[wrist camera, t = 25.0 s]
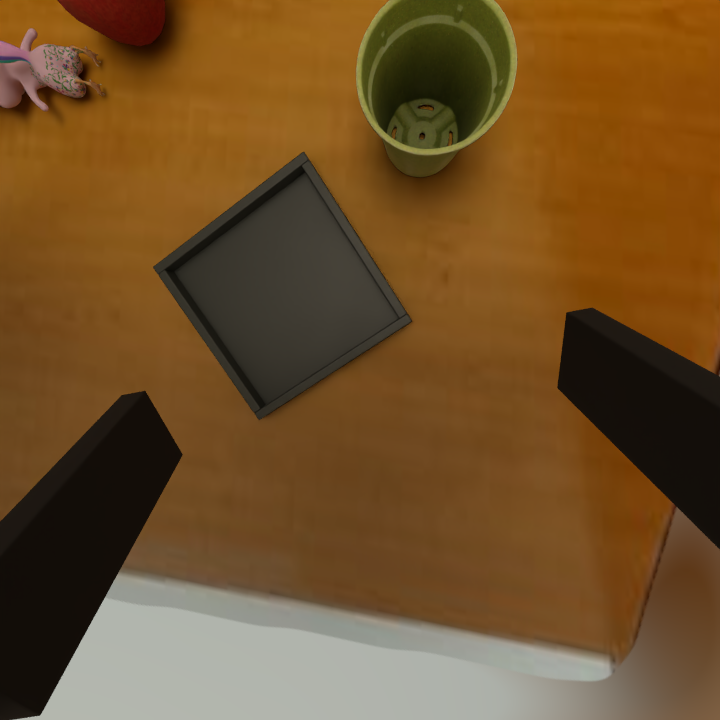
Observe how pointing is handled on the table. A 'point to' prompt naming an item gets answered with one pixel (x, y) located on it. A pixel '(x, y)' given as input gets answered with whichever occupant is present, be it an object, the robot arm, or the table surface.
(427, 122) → the plant pot
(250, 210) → the drip tray
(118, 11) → the apple
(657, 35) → the table surface
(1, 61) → the pink toy figurine
